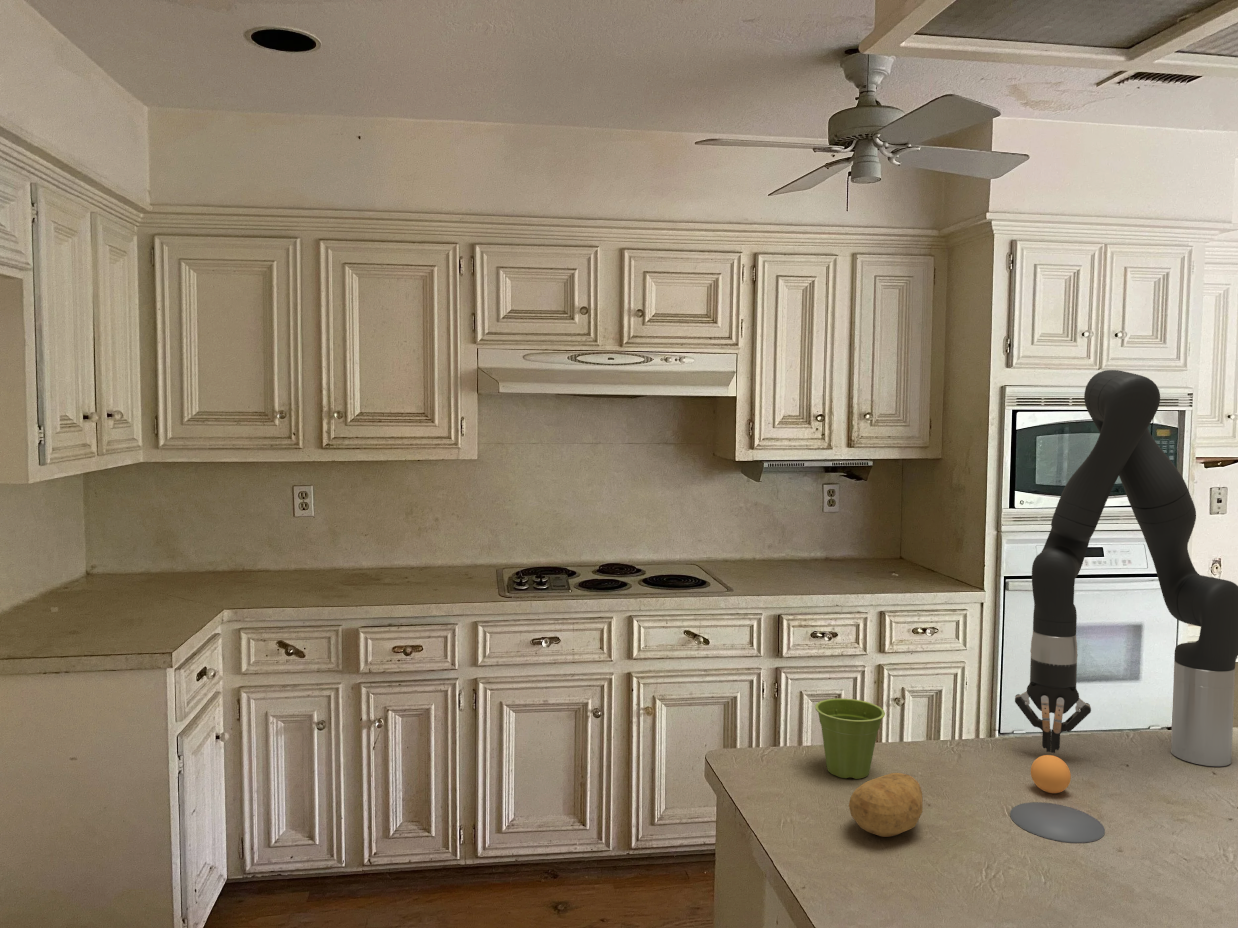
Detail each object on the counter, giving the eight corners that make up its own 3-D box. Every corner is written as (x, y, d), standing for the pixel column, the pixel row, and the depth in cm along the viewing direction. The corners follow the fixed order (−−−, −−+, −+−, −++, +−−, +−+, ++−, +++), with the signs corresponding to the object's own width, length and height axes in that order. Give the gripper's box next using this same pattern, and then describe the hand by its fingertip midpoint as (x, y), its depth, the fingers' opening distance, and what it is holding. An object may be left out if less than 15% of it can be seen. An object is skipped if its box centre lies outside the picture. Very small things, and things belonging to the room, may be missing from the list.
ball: (1042, 798, 147) (1040, 762, 151) (1078, 797, 143) (1076, 760, 146) (1024, 786, 144) (1023, 750, 148) (1061, 785, 140) (1058, 748, 144)
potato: (940, 825, 134) (941, 774, 133) (894, 858, 124) (895, 803, 123) (881, 805, 141) (882, 756, 140) (834, 834, 131) (834, 782, 130)
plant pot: (876, 791, 146) (877, 724, 145) (806, 777, 151) (806, 713, 151) (890, 765, 156) (891, 704, 156) (824, 753, 162) (825, 693, 161)
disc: (1039, 796, 144) (1039, 795, 144) (1121, 827, 133) (1121, 825, 133) (993, 816, 136) (993, 815, 136) (1075, 851, 126) (1075, 850, 126)
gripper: (1012, 657, 158) (1010, 752, 159) (1096, 667, 152) (1093, 764, 153) (1014, 647, 164) (1011, 738, 165) (1094, 656, 159) (1091, 749, 160)
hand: (1050, 750), depth 159 cm, fingers closed
